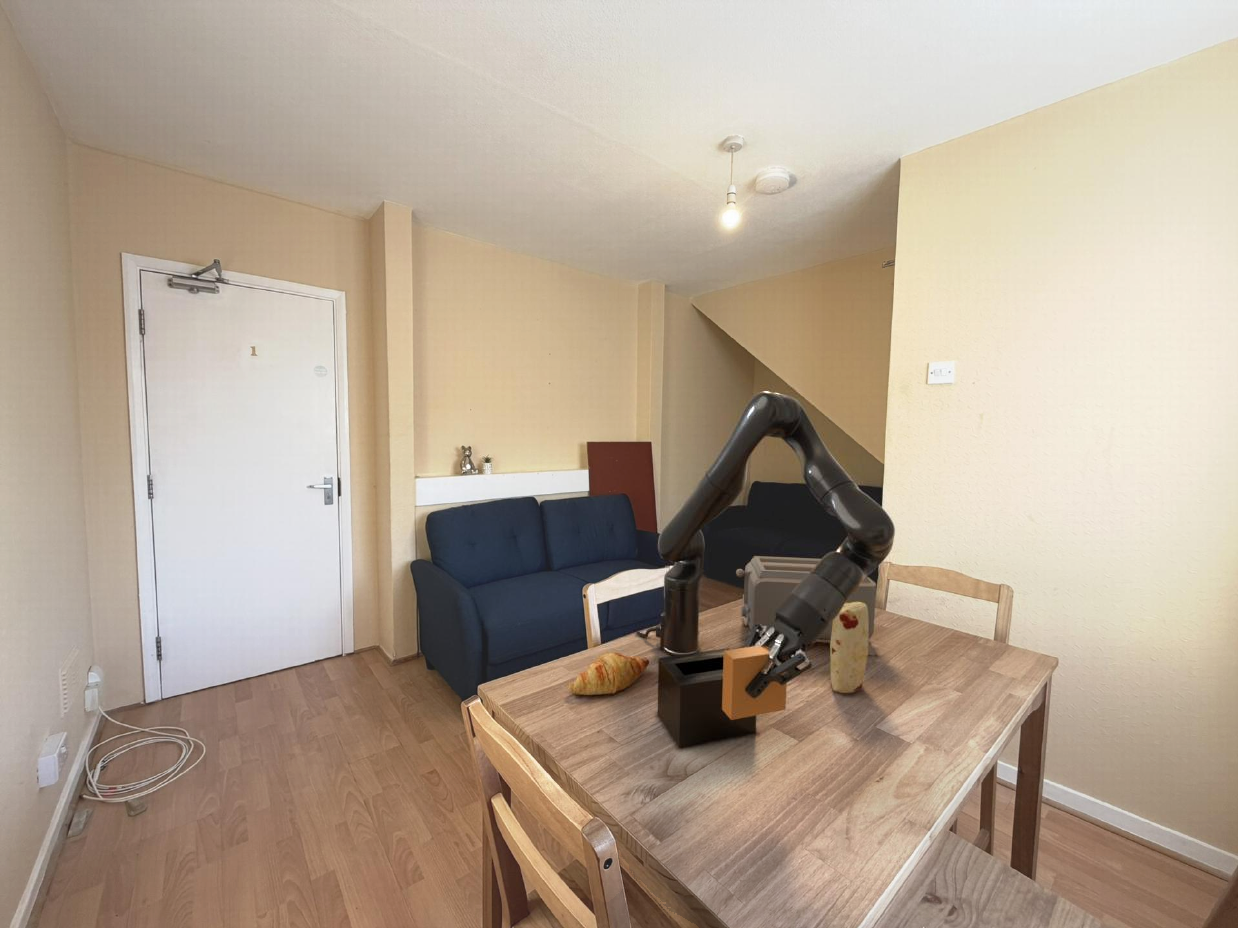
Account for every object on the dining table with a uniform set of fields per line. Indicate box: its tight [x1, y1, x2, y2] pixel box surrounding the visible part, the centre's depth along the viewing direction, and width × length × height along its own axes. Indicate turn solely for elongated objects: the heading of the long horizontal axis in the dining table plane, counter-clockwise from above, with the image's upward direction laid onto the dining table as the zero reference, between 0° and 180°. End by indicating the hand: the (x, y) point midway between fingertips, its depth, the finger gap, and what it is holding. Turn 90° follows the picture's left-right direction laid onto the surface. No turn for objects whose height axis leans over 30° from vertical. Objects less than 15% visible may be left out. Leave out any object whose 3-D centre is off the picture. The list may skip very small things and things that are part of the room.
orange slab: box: [722, 646, 788, 720], centre depth 79 cm, size 3×10×10 cm, turn 107°
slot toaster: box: [657, 647, 757, 749], centre depth 95 cm, size 12×16×12 cm
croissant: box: [568, 652, 650, 696], centre depth 111 cm, size 21×10×8 cm, turn 125°
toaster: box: [735, 555, 877, 656], centre depth 137 cm, size 19×35×20 cm, turn 82°
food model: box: [829, 602, 869, 694], centre depth 109 cm, size 10×7×20 cm
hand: (743, 688), depth 78 cm, fingers closed on orange slab, 3 cm apart
